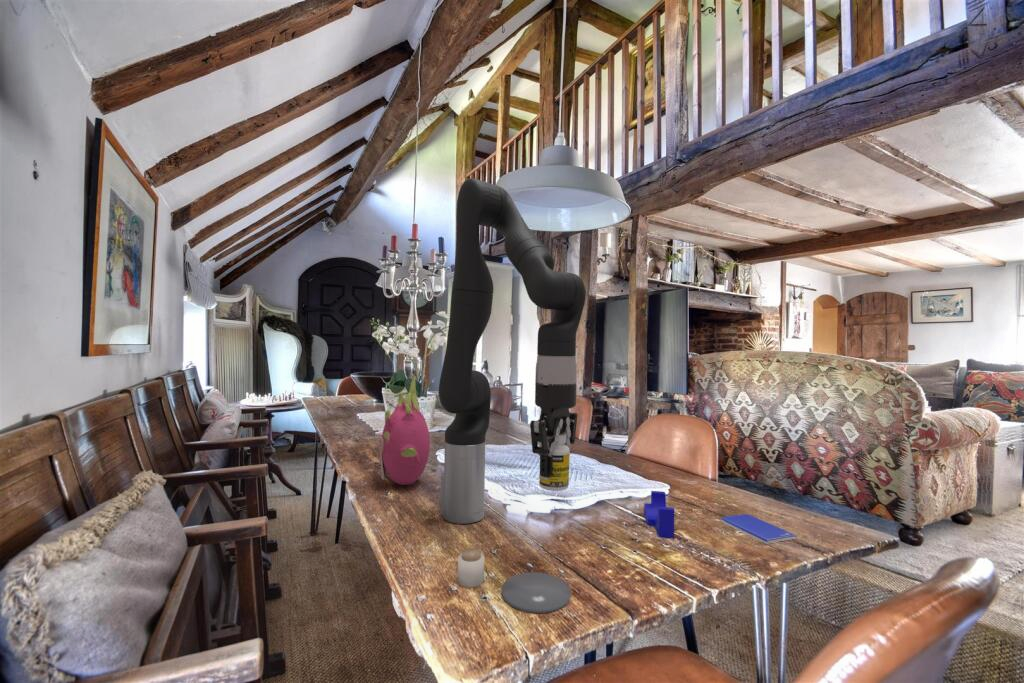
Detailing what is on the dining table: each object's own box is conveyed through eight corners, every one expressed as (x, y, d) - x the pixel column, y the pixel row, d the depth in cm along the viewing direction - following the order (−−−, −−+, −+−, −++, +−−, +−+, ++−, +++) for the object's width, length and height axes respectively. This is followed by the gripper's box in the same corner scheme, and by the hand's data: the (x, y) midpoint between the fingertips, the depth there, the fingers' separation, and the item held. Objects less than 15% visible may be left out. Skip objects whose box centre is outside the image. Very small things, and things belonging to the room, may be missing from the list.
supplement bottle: (549, 493, 82) (550, 437, 82) (533, 484, 87) (534, 432, 87) (574, 489, 85) (575, 435, 85) (558, 480, 89) (559, 429, 89)
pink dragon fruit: (377, 476, 136) (379, 373, 136) (425, 473, 140) (426, 373, 140) (379, 496, 119) (381, 379, 119) (433, 492, 123) (435, 378, 123)
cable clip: (644, 515, 109) (644, 490, 109) (663, 517, 109) (664, 491, 109) (651, 537, 98) (651, 508, 98) (673, 539, 97) (674, 510, 97)
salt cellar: (452, 582, 78) (452, 553, 78) (469, 571, 82) (469, 544, 82) (472, 590, 76) (473, 560, 75) (489, 579, 79) (489, 550, 79)
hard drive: (797, 534, 97) (748, 513, 109) (767, 539, 94) (720, 517, 106) (796, 542, 97) (748, 520, 109) (766, 547, 95) (720, 524, 106)
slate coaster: (488, 597, 73) (488, 593, 73) (525, 569, 83) (525, 566, 83) (549, 622, 67) (549, 617, 67) (582, 588, 76) (582, 585, 76)
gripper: (556, 376, 94) (554, 461, 94) (517, 381, 82) (515, 478, 82) (591, 379, 89) (589, 467, 90) (555, 384, 78) (553, 486, 78)
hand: (554, 472), depth 86 cm, fingers closed on supplement bottle, 5 cm apart
